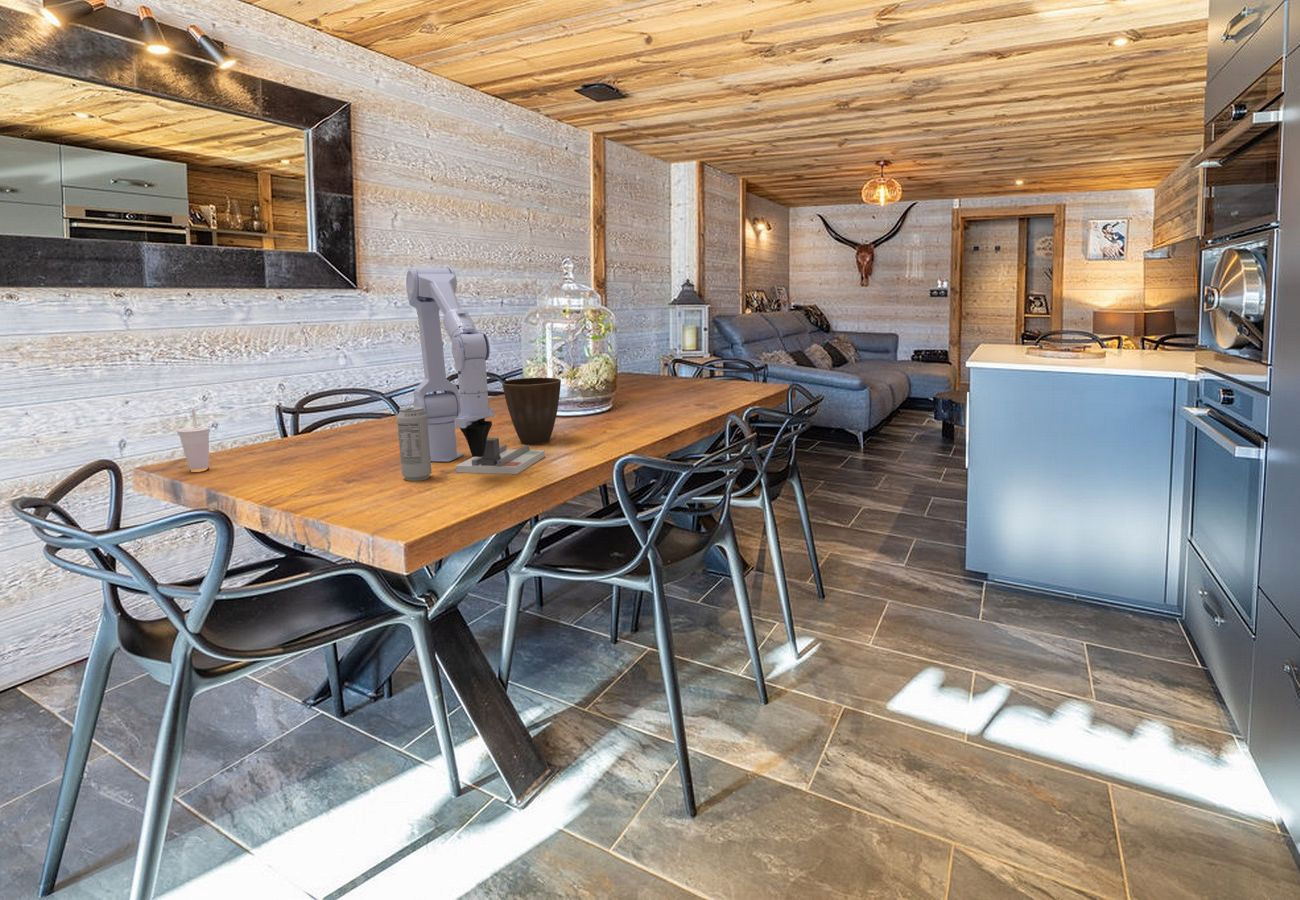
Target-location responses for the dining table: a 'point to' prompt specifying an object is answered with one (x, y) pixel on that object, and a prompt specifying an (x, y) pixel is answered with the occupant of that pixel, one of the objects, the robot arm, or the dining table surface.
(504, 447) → the slider rail board
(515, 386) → the plant pot
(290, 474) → the dining table surface
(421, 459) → the energy drink can
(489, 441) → the lever
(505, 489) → the dining table surface
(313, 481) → the dining table surface
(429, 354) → the robot arm
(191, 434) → the smoothie
